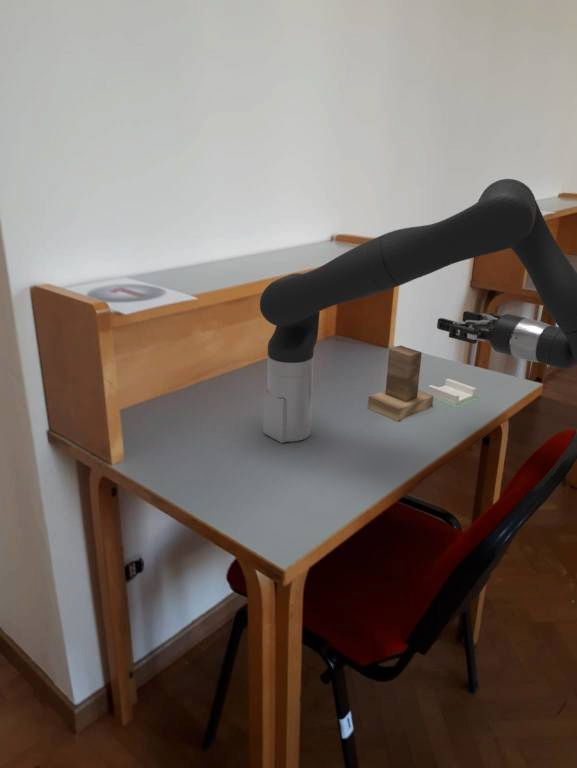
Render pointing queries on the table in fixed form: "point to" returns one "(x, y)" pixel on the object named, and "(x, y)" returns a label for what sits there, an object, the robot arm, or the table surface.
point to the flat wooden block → (399, 405)
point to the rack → (452, 392)
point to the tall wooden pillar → (403, 373)
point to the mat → (460, 403)
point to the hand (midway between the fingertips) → (451, 319)
